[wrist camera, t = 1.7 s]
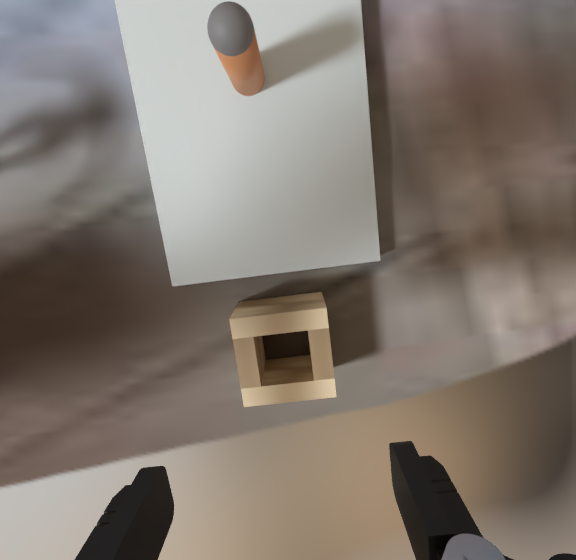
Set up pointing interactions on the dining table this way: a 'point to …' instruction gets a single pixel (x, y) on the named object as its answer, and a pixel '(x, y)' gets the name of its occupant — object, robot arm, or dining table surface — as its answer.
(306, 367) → the square wooden ring
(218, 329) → the dining table surface
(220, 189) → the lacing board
